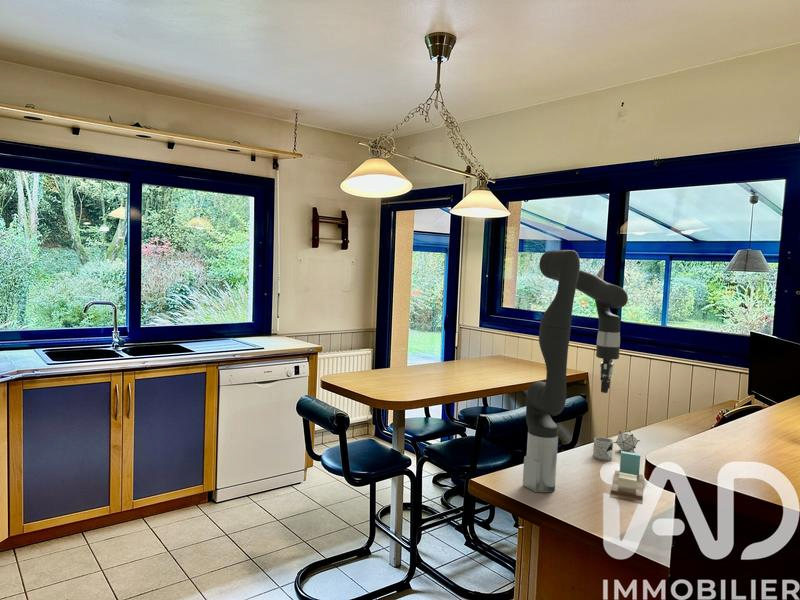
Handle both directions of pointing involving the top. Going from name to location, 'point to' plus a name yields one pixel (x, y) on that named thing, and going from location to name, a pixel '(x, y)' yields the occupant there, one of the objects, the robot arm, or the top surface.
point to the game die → (626, 441)
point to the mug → (603, 448)
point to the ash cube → (627, 483)
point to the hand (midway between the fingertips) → (605, 390)
